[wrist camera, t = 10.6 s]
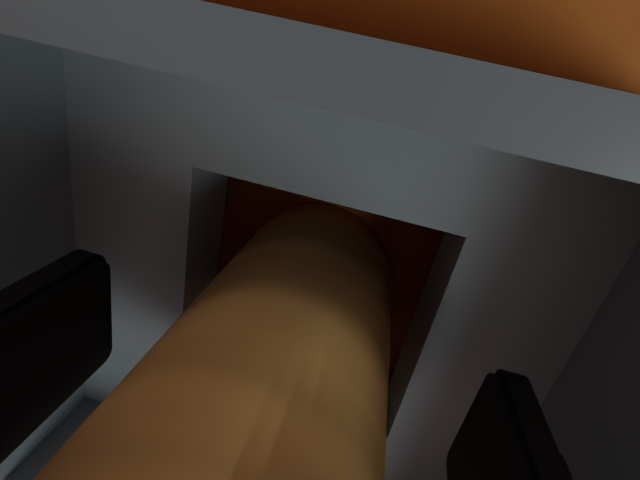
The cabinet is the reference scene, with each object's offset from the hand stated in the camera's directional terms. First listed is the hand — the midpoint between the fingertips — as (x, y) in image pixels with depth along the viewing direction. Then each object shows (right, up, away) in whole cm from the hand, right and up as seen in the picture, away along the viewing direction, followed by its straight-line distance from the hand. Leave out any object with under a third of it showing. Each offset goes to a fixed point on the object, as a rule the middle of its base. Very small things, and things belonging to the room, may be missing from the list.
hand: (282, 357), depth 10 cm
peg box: (+1, +2, +4) cm, 4 cm away
